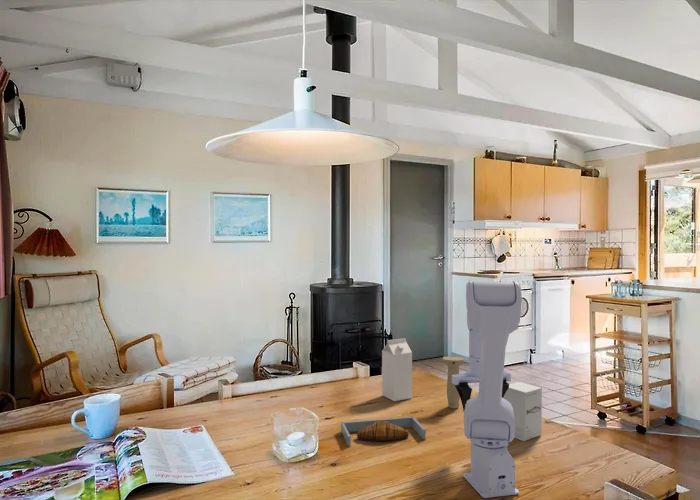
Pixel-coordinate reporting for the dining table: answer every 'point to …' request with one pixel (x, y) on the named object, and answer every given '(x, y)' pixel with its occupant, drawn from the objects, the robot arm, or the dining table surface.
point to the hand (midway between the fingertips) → (481, 412)
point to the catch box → (400, 422)
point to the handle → (453, 369)
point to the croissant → (382, 432)
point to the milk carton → (397, 370)
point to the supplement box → (525, 409)
